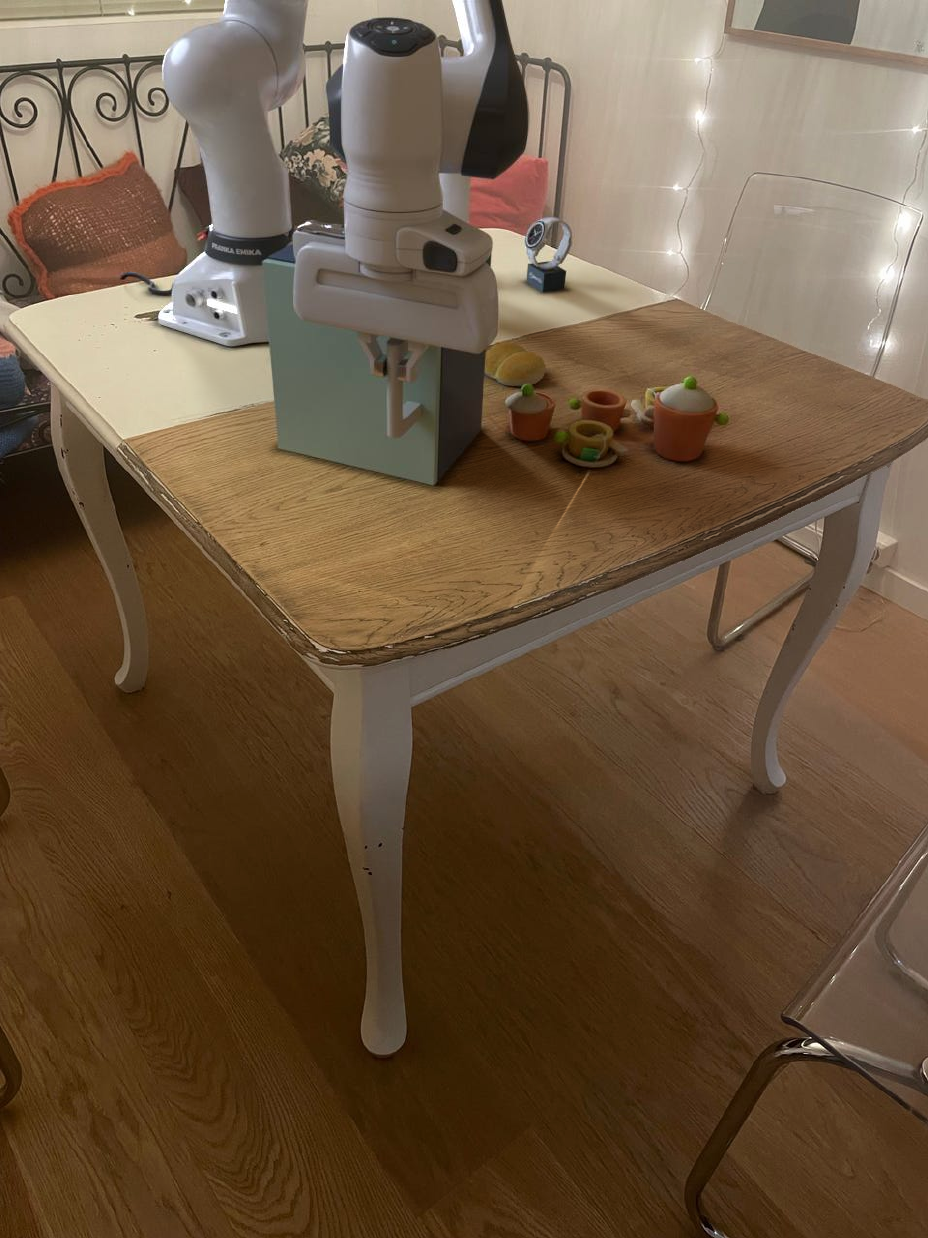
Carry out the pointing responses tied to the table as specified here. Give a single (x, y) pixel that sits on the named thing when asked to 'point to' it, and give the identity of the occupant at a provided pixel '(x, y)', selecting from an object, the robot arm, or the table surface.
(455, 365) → the cupboard
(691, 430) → the toy tea set
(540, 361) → the bread roll
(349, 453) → the cupboard door
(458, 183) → the bottle
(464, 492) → the table surface
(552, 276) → the watch
